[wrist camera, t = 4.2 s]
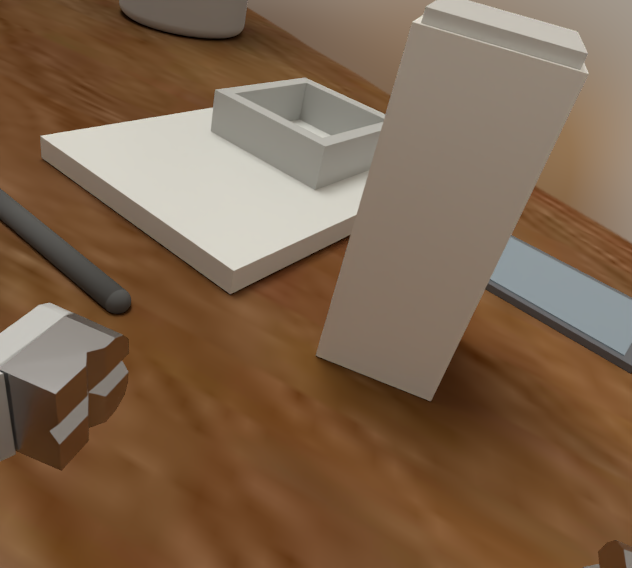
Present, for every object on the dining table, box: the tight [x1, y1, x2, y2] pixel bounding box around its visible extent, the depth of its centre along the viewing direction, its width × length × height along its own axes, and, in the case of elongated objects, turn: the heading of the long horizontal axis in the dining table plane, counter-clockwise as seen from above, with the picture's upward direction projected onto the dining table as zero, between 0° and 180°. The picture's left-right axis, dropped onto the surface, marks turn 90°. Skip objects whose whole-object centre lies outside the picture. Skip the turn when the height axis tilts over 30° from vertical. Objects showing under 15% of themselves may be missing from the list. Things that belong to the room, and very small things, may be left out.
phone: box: [485, 235, 632, 374], centre depth 30 cm, size 6×13×1 cm, turn 50°
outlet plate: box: [40, 78, 385, 294], centre depth 32 cm, size 20×14×4 cm
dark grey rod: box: [0, 189, 131, 314], centre depth 23 cm, size 11×1×1 cm, turn 51°
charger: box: [316, 0, 589, 401], centre depth 19 cm, size 5×5×12 cm
